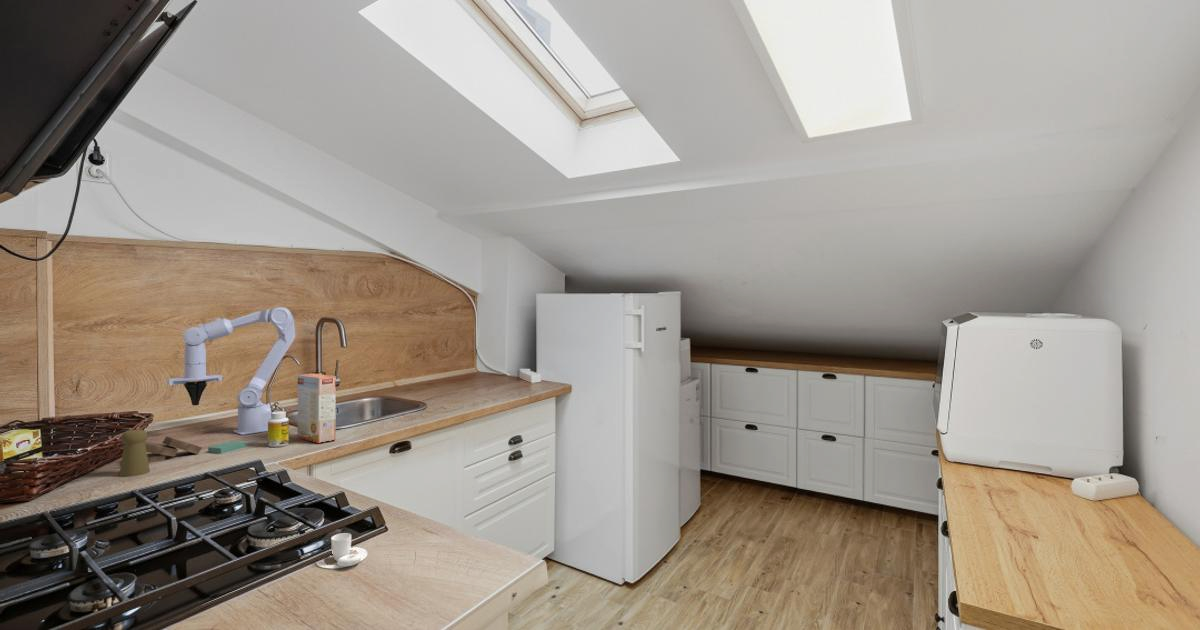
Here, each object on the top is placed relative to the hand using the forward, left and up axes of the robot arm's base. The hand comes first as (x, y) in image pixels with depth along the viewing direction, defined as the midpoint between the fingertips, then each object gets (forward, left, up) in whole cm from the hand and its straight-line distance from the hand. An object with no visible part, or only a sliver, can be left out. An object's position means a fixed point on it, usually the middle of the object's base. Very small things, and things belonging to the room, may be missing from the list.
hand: (195, 404), depth 181 cm
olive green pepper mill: (+22, +36, -11) cm, 44 cm away
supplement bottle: (-13, +33, -11) cm, 37 cm away
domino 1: (+11, +25, -9) cm, 29 cm away
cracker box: (-24, +34, -11) cm, 43 cm away
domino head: (-5, +26, -10) cm, 28 cm away
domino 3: (+6, +24, -10) cm, 27 cm away
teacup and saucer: (+13, +126, -11) cm, 127 cm away
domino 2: (+14, +25, -10) cm, 30 cm away
